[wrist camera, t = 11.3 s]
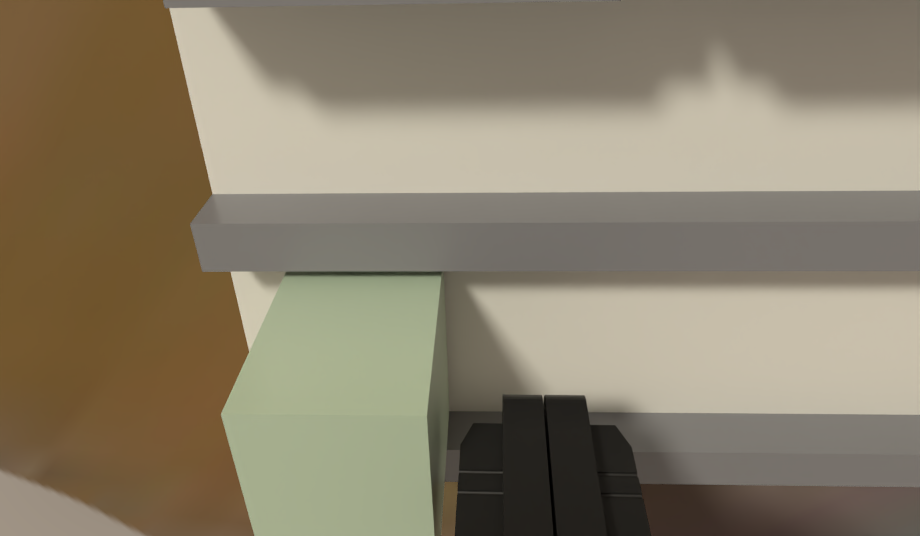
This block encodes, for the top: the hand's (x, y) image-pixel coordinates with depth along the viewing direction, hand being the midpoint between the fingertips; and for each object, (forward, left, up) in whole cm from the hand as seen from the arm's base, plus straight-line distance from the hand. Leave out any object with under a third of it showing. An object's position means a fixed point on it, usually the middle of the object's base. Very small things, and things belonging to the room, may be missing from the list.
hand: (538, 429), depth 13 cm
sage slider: (0, -3, -2) cm, 4 cm away
